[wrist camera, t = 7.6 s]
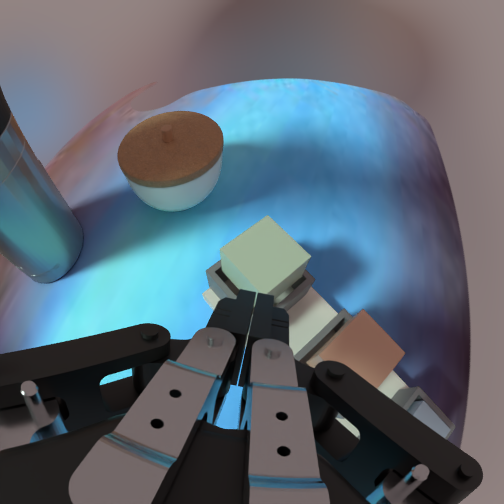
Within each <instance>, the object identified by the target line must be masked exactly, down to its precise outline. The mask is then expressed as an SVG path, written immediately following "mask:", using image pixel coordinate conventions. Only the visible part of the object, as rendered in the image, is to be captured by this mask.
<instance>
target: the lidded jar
mask: <svg viewBox="0 0 504 504" xmlns="http://www.w3.org/2000/svg"><path fill="white" fill-rule="evenodd" d="M222 157H223V133H222V131H221V128H220V127H219V126H218V124H217V123H216V122H215V121H213V120H212V119H211V118H209V117H207V116H205V115H203V114H199V113H196V112H189V111H174V112H167V113H163V114H159V115H156V116H153V117H151V118H149V119H146V120H145V121H143V122H141V123H139V124H138V125H137V126H135V127H134V128H133V129H132V130H130V131H129V132H128V134H127V135H126V136H125V137H124V139H123V140H122V142H121V144H120V146H119V149H118V162H119V166H120V168H121V170H122V172H123V173H124V175H125V177H126V179H127V181H128V183H129V185H130V187H131V188H132V190H133V191H134V193H135V194H136V195H137V196H138V197H139V198H140V199H141V200H142V201H143V202H145V203H146V204H147V205H149V206H151V207H153V208H155V209H159V210H162V211H182V210H186V209H189V208H191V207H193V206H195V205H197V204H199V203H200V202H202V201H203V200H204V199H205V198H206V197H207V196H208V195H209V194H210V193H211V192H212V190H213V189H214V187H215V185H216V183H217V181H218V179H219V175H220V172H221V167H222Z"/></svg>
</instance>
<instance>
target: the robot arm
mask: <svg viewBox="0 0 504 504" xmlns="http://www.w3.org/2000/svg"><path fill="white" fill-rule="evenodd" d="M82 244H83V231H82V227H81V225H80V223H79V222H78V220H77V219H76V218H75V216H74V215H73V213H72V210H71V209H70V207H69V206H68V204H67V203H66V201H65V200H64V198H63V197H62V195H61V194H60V192H59V191H58V189H57V188H56V186H55V184H54V183H53V181H52V180H51V178H50V177H49V175H48V173H47V172H46V170H45V169H44V167H43V165H42V164H41V162H40V161H39V160H38V159H37V157H36V156H35V154H34V152H33V151H32V149H31V147H30V145H29V144H28V142H27V140H26V139H25V137H24V135H23V133H22V131H21V130H20V128H19V126H18V124H17V122H16V120H15V118H14V116H13V114H12V112H11V110H10V108H9V106H8V104H7V102H6V100H5V97H4V95H3V92H2V90H1V87H0V253H1V254H2V255H3V256H4V257H5V258H7V259H8V260H9V261H10V262H11V263H12V264H14V265H15V266H16V267H17V268H18V269H20V270H21V271H22V272H23V273H25V274H26V275H27V276H28V277H30V278H31V279H32V280H34V281H35V282H38V283H49V282H53V281H55V280H57V279H59V278H61V277H62V276H63V275H65V274H66V273H67V272H68V271H69V270H70V269H71V268H72V266H73V265H74V263H75V262H76V260H77V258H78V256H79V254H80V251H81V248H82ZM255 297H256V292H253V291H248V290H243V289H240V290H239V293H238V295H237V298H236V299H232V298H228V297H225V298H223V299H221V300H220V301H218V303H217V305H216V307H215V309H214V311H213V313H212V315H211V317H210V319H209V322H208V324H207V326H206V328H203V329H200V330H198V331H197V332H196V333H195V335H194V336H193V337H192V339H188V340H177V339H170V337H171V336H170V333H169V331H168V330H167V329H166V328H164V327H162V326H160V325H157V324H151V323H145V324H139V325H135V326H131V327H127V328H123V329H118V330H114V331H110V332H106V333H101V334H97V335H93V336H88V337H84V338H79V339H74V340H70V341H65V342H60V343H56V344H51V345H46V346H41V347H36V348H31V349H26V350H20V351H15V352H10V353H4V354H0V504H458V503H460V502H461V501H462V500H463V499H464V498H466V497H467V496H468V495H469V494H470V493H471V492H473V491H474V490H475V489H476V488H477V487H478V486H479V485H480V484H481V482H482V478H483V472H482V469H481V466H480V465H479V463H478V462H477V461H476V460H475V459H473V458H472V457H471V456H469V455H468V454H466V453H465V452H463V451H462V450H461V449H459V448H458V447H456V446H455V445H453V444H452V443H451V442H449V441H448V440H446V439H445V438H444V437H442V436H441V435H439V434H438V433H437V432H435V431H434V430H432V429H431V428H430V427H428V426H427V425H425V424H424V423H423V422H421V421H420V420H419V419H417V418H416V417H414V416H413V415H412V414H410V413H409V412H408V411H406V410H405V409H404V408H402V407H401V406H399V405H398V404H397V403H395V402H394V401H393V400H391V399H390V398H389V397H387V396H386V395H385V394H383V393H382V392H381V391H379V390H378V389H377V388H375V387H374V386H373V385H372V384H370V383H369V382H368V381H366V380H365V379H364V378H362V377H361V376H360V375H358V374H357V373H356V372H354V371H353V370H352V369H351V368H349V367H348V366H346V365H345V364H343V363H340V362H337V361H331V360H327V361H322V362H319V363H318V364H317V365H316V366H315V368H313V367H310V366H307V365H305V364H303V363H301V362H299V361H297V360H296V359H295V358H294V354H293V351H292V349H291V348H290V347H289V315H288V313H287V312H286V310H285V309H283V308H278V307H273V304H274V295H269V294H264V293H259V292H258V294H257V298H256V303H255V307H254V302H255ZM253 307H254V312H253ZM252 312H253V317H252ZM251 317H252V321H251ZM250 322H251V325H250ZM249 327H250V330H249ZM248 332H249V334H248ZM247 337H248V339H247ZM246 341H247V344H246ZM245 346H246V349H245ZM244 350H245V354H244ZM243 354H244V359H243ZM242 359H243V364H242V369H241V374H240V379H239V384H238V386H241V387H243V391H242V396H241V400H240V407H239V417H238V428H237V429H223V428H220V427H217V426H215V425H216V423H217V420H218V418H219V415H220V413H221V410H222V407H223V405H224V402H225V399H226V394H227V393H228V391H229V388H230V385H236V384H237V380H238V376H239V372H240V367H241V363H242ZM130 368H132V376H130V377H127V378H123V379H120V380H117V381H114V382H110V383H107V384H103V385H100V381H101V380H102V379H103V378H104V377H105V376H107V375H110V374H114V373H117V372H120V371H124V370H127V369H130ZM338 413H340V414H341V415H342V416H343V417H344V418H345V419H346V420H348V421H349V422H350V423H351V424H352V425H353V426H354V427H356V428H357V430H358V431H359V433H360V439H358V438H357V437H356V436H355V435H354V434H353V433H351V432H350V431H349V430H348V429H347V428H346V427H345V426H344V425H342V424H341V423H340V422H339V421H338V420H337V419H336V417H337V415H338Z"/></svg>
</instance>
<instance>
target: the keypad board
mask: <svg viewBox="0 0 504 504" xmlns="http://www.w3.org/2000/svg"><path fill="white" fill-rule="evenodd" d="M206 275H207V279H208V283H209V287H210V288H209V289H208V290H206V291H205V292H204V293H202V295H203V298H204V300H205V301H206V302H207V303H208V305H209V306H210V307H211V308H212V309H213V311H214V309H215V307H216V305H217V303H218V301H220V300H221V299H223V298H225V297H228V298H232V299H236V298H237V295H238V293H239V289H238V288H237V287H236V286H235V285H234V283H233V282H232V281H231V280H230V279H229V278H228V277H227V276H226V275H225V273H224V272H223V271H222V265H221V260H220V261H218V262H217V263H216V264H214V265H213V266H211V267H210V268H209V269H207V270H206ZM314 281H315V278H314V277H313V276H312V275H311V274H310V273H309V272H308V271H307V270H306V269H305V270H304V272H303V275H302V277H301V278H299V279H298V280H297V281H296V282H295V283H294V284H293V285H291V286H290V287H289V288H288V289H287V290H286V291H284V292H283V293H282V294H281V295H280V296H278V297H277V298H276V299H275V300H274V304H273V307H278V308H283V309H285V310H286V312H287V313H288V315H289V347H290V348H291V349H292V351H293V354H294V358H295V359H296V360H297V361H299V362H301V363H303V364H305V365H307V366H309V365H308V364H307V363H306V362H307V361H308V360H309V359H310V358H311V357H312V356H313V355H314V354H315V353H316V352H317V351H318V350H319V349H320V348H321V347H322V346H323V345H324V344H325V343H326V342H327V341H328V340H329V339H330V338H331V337H332V336H333V335H334V334H335V333H336V332H337V331H338V330H339V329H340V328H341V327H342V326H343V325H344V324H345V323H346V322H347V321H349V320H350V319H351V318H352V316H351V315H350V314H349V313H348V312H347V311H346V310H345V309H343V310H342V311H341V312H339V313H337V312H336V311H335V310H334V309H333V308H332V307H331V306H330V305H329V304H328V303H327V302H326V301H325V300H324V299H323V298H322V297H321V296H320V295H319V294H318V293H317V292H316V291H315V290H314V289H313V288H312V287H311V286H312V284H313V282H314ZM253 312H254V307H253ZM253 312H252V317H253ZM252 317H251V321H252ZM250 325H251V322H250ZM249 330H250V327H249ZM248 334H249V332H248ZM247 339H248V337H247ZM246 344H247V341H246ZM245 347H246V346H245ZM377 389H378V390H379V391H381V392H382V393H383V394H385V395H386V396H387V397H389V398H390V399H391V400H393V401H394V402H395V403H397V404H398V405H399V406H401V407H402V408H404V409H405V410H406V411H407V410H408V408H409V407H410V406H411V404H412V403H413V402H414V401H425V402H426V403H427V405H428V406H429V407H430V408H431V409H432V410H433V411H434V412H435V413H436V414H437V415H438V416H439V417H440V419H441V420H442V421H443V422H444V423H445V424H446V425H447V426H448V427H449V428H450V429H451V430H450V432H449V433H448V435H447V436H446V437H445V439H446V440H447V439H448V437H449V436H450V435H451V433H452V432H453V430H454V429H455V427H456V426H455V425H454V424H453V423H452V422H451V421H450V420H449V419H448V418H447V416H446V415H445V414H444V413H443V412H442V411H441V410H440V409H439V408H438V407H437V405H436V404H435V403H434V402H433V401H432V400H431V399H430V398H429V397H428V396H427V395H426V393H425V392H424V391H423V390H422V389H421V388H420V387H419V386H418V387H412V388H409V387H408V386H407V385H406V384H405V383H404V382H403V381H402V379H401V378H400V377H399V376H398V375H397V374H396V373H395V372H394V371H393V370H392V371H391V373H390V374H389V375H388V376H387V377H386V379H385V380H384V381H383V382H382V383H381V385H380V386H379V387H378V388H377ZM336 419H337V420H338V421H339V422H340V423H341V424H342V425H344V426H345V427H346V428H347V429H348V430H349V431H350V432H351V433H353V434H354V435H355V436H356V437H357V438H358V439H360V433H359V431H358V430H357V428H356V427H354V426H353V425H352V424H351V423H350V422H349V421H348V420H346V419H345V418H344V417H343V416H342V415H341V414H340V413H338V415H337V417H336Z"/></svg>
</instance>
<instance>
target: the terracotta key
mask: <svg viewBox="0 0 504 504" xmlns="http://www.w3.org/2000/svg"><path fill="white" fill-rule="evenodd" d="M404 354H405V352H404V351H403V350H402V349H401V348H400V347H399V346H398V345H397V344H396V342H395V341H394V340H393V339H392V338H391V337H390V336H389V335H388V334H387V333H386V332H385V331H384V330H383V329H382V328H381V327H380V326H379V325H378V324H377V323H376V322H375V321H374V320H373V318H372V317H371V316H370V315H369V314H368V313H367V312H366V311H365V310H364V309H362V310H361V311H360V312H359V313H357V314H356V315H355V316H354V317H352V318H351V319H350V320H349V321H347V322H346V323H345V324H344V325H343V326H342V327H341V328H340V329H339V330H338V331H337V332H336V333H335V334H334V335H333V336H332V337H331V338H330V339H329V340H328V341H327V342H326V343H325V344H324V345H323V346H322V347H321V348H320V349H319V350H318V351H317V352H316V353H315V354H314V355H313V356H312V357H311V358H310V359H309V360H308V361H307V362H306V363H307V364H308V365H309V366H310V367H313V368H315V366H316V365H317V364H318V363H319V362H322V361H327V360H331V361H337V362H340V363H343V364H345V365H346V366H348V367H349V368H351V369H352V370H353V371H354V372H356V373H357V374H358V375H360V376H361V377H362V378H364V379H365V380H366V381H368V382H369V383H370V384H372V385H373V386H374V387H375V388H378V387H379V386H380V385H381V383H382V382H383V381H384V380H385V379H386V377H387V376H388V375H389V374H390V373H391V371H392V370H393V369H394V367H395V366H396V365H397V364H398V362H399V361H400V360H401V358H402V357H403V356H404Z"/></svg>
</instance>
